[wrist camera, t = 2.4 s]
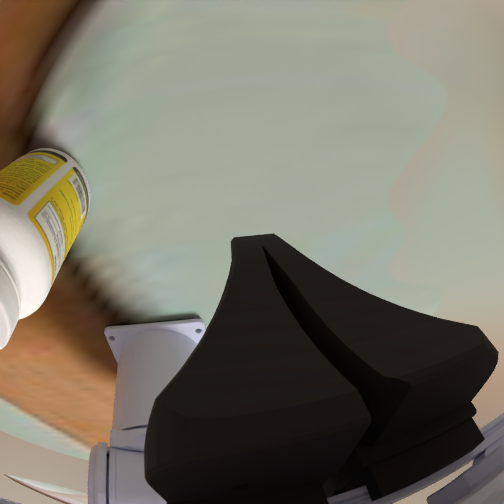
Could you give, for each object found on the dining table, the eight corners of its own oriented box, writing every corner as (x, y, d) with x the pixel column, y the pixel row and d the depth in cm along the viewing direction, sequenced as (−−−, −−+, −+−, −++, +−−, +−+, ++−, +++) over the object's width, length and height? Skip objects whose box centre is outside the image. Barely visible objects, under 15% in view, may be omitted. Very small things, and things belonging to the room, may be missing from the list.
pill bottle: (-3, 197, 16) (-99, 300, 7) (43, 125, 15) (-78, 196, 5) (59, 254, 19) (1, 383, 10) (112, 191, 18) (52, 316, 9)
